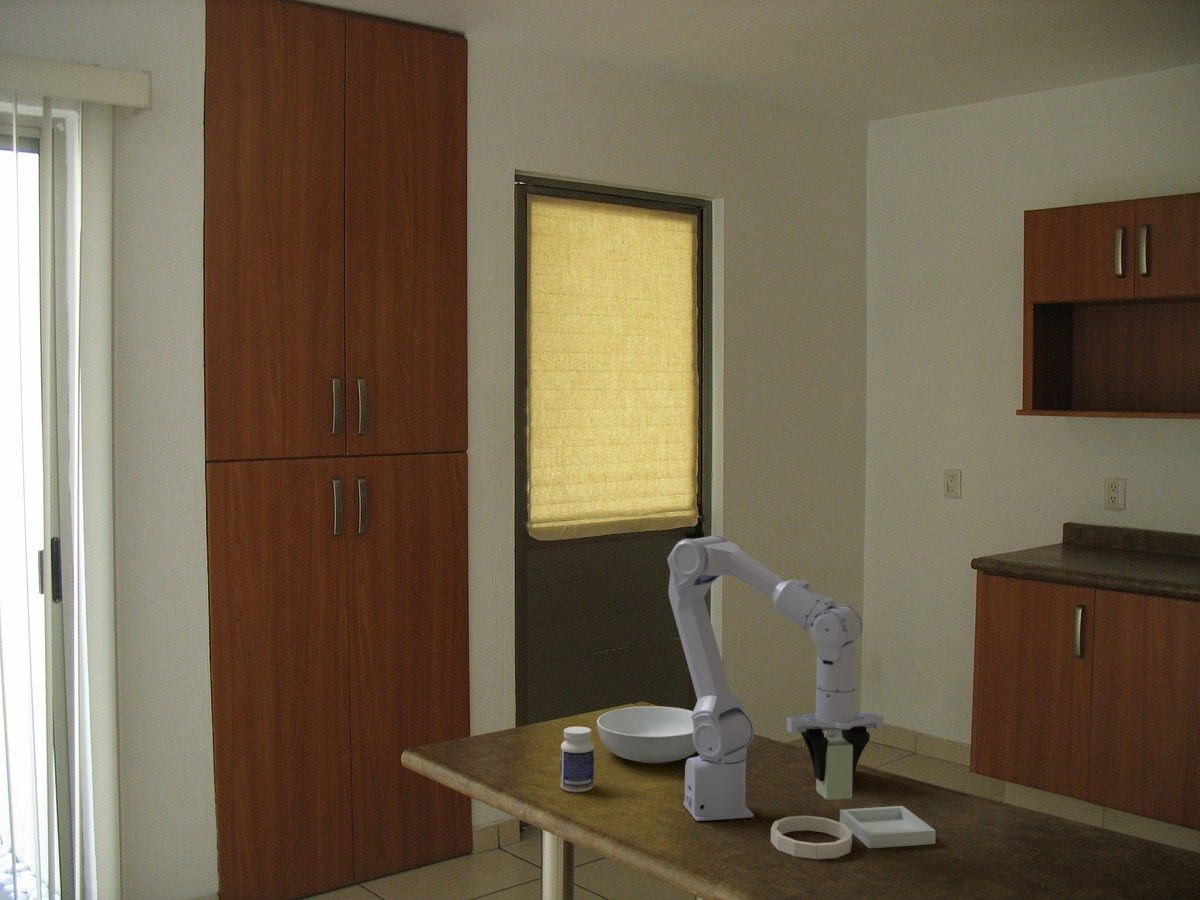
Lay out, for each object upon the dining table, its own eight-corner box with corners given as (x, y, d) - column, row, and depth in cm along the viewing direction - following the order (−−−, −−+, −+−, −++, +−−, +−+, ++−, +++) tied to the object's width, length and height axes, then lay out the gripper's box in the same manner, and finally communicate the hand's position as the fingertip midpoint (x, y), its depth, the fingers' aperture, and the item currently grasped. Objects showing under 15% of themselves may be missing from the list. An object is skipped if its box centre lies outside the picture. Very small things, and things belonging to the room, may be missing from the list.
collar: (788, 861, 159) (788, 847, 159) (760, 831, 170) (761, 818, 170) (864, 855, 161) (864, 842, 161) (832, 826, 173) (832, 813, 173)
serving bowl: (636, 733, 222) (637, 699, 222) (729, 753, 210) (729, 717, 209) (573, 759, 205) (574, 722, 205) (670, 782, 193) (670, 743, 192)
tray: (869, 848, 164) (869, 835, 164) (839, 822, 174) (839, 809, 174) (935, 843, 166) (935, 830, 166) (902, 818, 177) (902, 805, 177)
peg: (826, 799, 164) (827, 746, 164) (816, 790, 168) (817, 738, 168) (851, 798, 165) (852, 744, 165) (841, 789, 169) (842, 737, 169)
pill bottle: (600, 789, 188) (601, 731, 188) (572, 795, 185) (572, 736, 185) (581, 780, 193) (582, 723, 193) (553, 786, 190) (554, 728, 190)
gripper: (799, 696, 161) (797, 789, 161) (892, 692, 164) (891, 784, 164) (782, 684, 168) (780, 774, 168) (872, 681, 171) (870, 769, 171)
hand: (834, 778), depth 167 cm, fingers closed on peg, 4 cm apart
